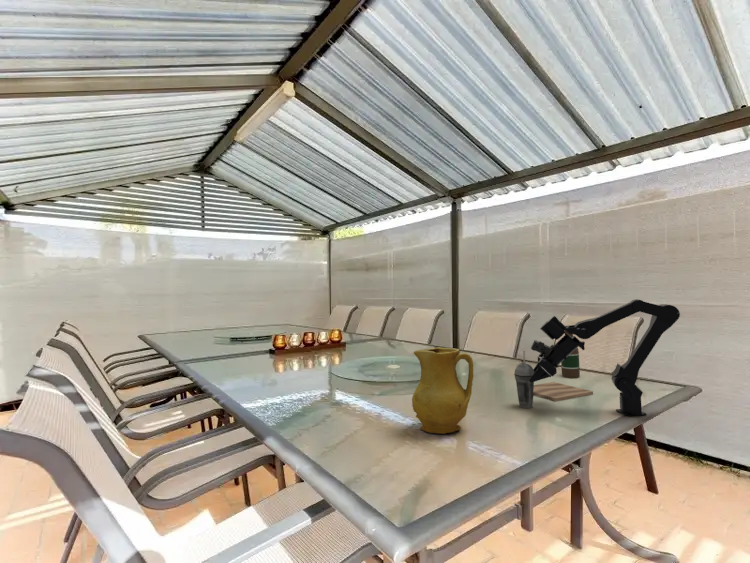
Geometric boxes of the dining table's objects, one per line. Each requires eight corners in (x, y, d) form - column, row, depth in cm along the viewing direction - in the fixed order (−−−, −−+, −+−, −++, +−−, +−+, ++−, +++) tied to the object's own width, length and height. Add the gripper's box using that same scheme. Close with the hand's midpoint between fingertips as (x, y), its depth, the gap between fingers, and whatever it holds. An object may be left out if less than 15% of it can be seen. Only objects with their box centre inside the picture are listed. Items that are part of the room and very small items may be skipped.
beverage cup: (513, 408, 150) (511, 352, 151) (517, 402, 157) (514, 349, 157) (535, 410, 147) (532, 353, 147) (537, 404, 153) (535, 350, 154)
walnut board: (593, 394, 165) (592, 391, 165) (555, 401, 157) (555, 398, 157) (553, 384, 183) (553, 381, 183) (517, 390, 175) (517, 387, 175)
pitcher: (431, 417, 144) (428, 344, 144) (481, 426, 132) (478, 347, 132) (402, 431, 130) (398, 351, 131) (455, 443, 118) (451, 355, 119)
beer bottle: (558, 376, 199) (555, 325, 199) (569, 374, 202) (567, 324, 203) (572, 379, 192) (569, 327, 192) (583, 377, 195) (581, 325, 196)
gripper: (544, 330, 158) (514, 358, 162) (544, 335, 141) (511, 367, 145) (567, 351, 155) (537, 379, 159) (571, 360, 138) (536, 391, 142)
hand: (530, 378), depth 151 cm, fingers open, 9 cm apart
